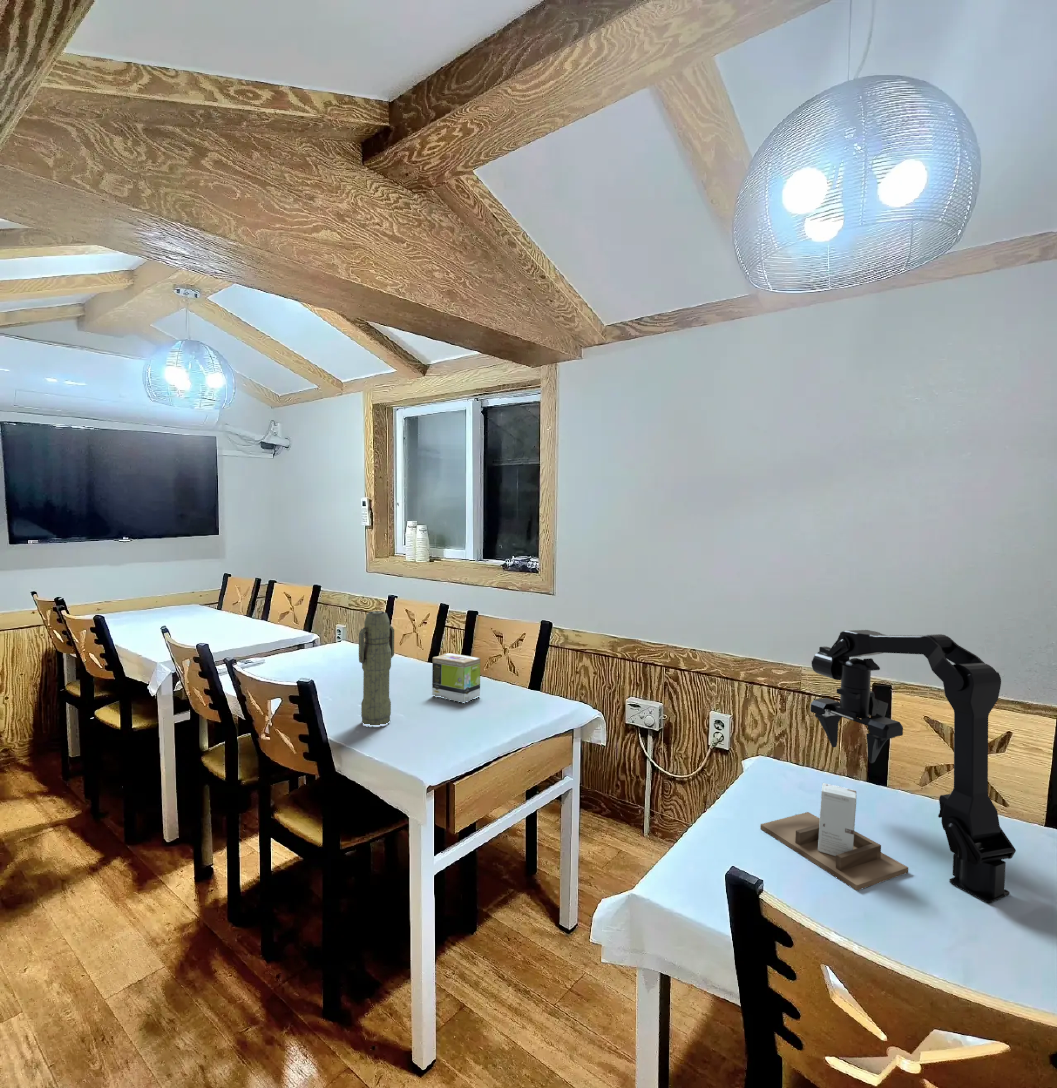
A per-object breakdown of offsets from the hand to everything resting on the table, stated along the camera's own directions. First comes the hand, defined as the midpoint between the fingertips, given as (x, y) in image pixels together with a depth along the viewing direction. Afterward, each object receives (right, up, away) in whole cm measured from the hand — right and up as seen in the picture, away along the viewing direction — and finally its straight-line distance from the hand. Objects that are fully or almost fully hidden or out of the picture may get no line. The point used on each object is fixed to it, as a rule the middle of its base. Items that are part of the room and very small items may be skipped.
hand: (852, 754), depth 129 cm
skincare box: (-13, -13, -17) cm, 25 cm away
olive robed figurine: (-121, -9, +51) cm, 131 cm away
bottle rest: (-13, -13, -15) cm, 24 cm away
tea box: (-99, -9, +79) cm, 127 cm away
